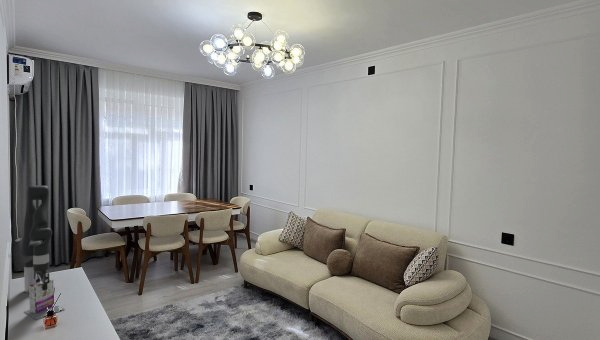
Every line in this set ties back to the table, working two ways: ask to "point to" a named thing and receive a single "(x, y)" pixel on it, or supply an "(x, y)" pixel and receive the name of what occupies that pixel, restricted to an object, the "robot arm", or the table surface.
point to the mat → (41, 313)
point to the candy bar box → (41, 296)
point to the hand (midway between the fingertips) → (41, 288)
